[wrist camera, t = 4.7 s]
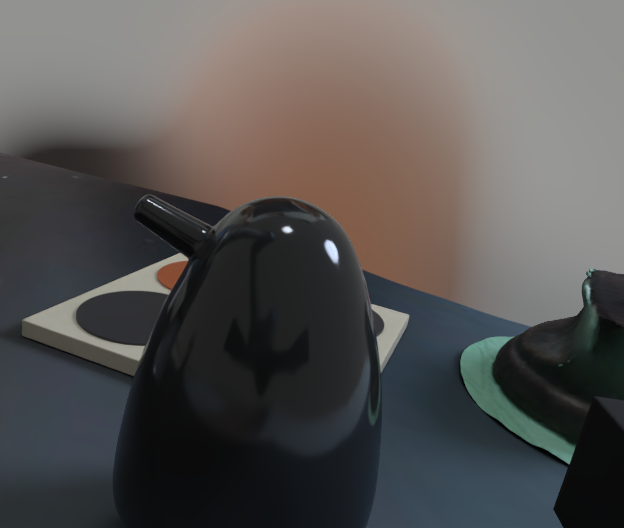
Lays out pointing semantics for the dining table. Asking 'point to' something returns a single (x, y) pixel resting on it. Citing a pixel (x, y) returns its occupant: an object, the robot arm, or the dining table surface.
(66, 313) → the hob plate
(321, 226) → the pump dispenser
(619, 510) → the robot arm
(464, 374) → the black green hat
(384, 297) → the dining table surface
